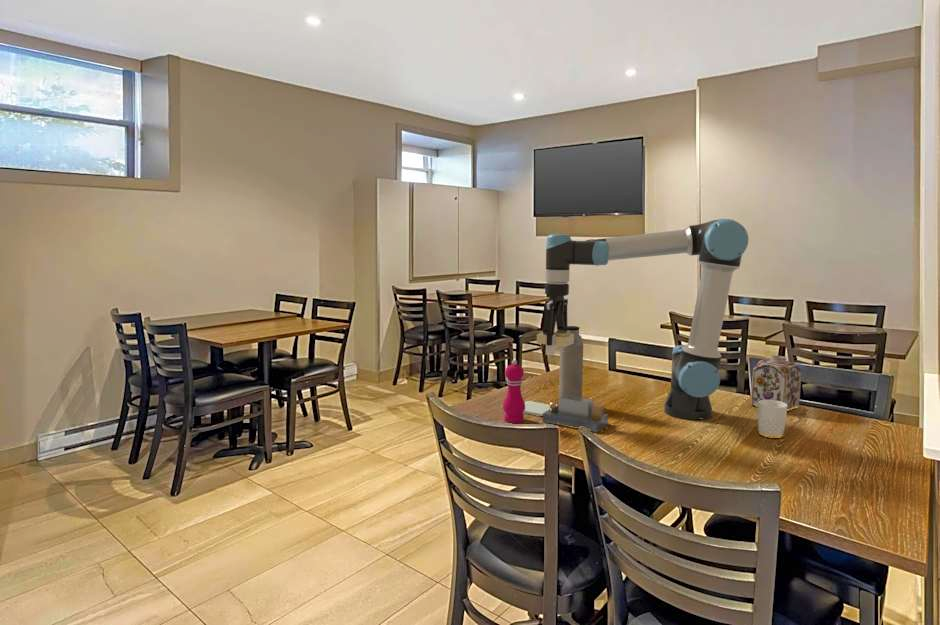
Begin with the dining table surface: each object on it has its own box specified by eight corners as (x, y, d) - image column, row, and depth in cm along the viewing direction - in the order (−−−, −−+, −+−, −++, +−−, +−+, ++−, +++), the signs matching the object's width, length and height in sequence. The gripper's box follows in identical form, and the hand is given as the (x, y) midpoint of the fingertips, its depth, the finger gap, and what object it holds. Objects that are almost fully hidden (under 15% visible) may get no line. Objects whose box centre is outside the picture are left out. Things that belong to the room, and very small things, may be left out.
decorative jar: (782, 414, 198) (787, 362, 195) (749, 406, 207) (752, 355, 204) (799, 408, 205) (804, 357, 202) (766, 400, 214) (770, 351, 211)
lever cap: (573, 343, 192) (574, 331, 192) (565, 346, 187) (565, 334, 186) (545, 339, 198) (545, 328, 197) (536, 343, 192) (536, 331, 191)
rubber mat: (555, 408, 204) (556, 405, 204) (542, 417, 195) (542, 414, 195) (527, 403, 210) (527, 400, 210) (512, 411, 201) (512, 408, 201)
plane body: (607, 423, 189) (608, 399, 188) (596, 432, 180) (597, 407, 179) (555, 413, 198) (556, 390, 197) (543, 422, 190) (543, 398, 189)
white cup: (751, 435, 178) (754, 403, 177) (761, 429, 184) (763, 398, 182) (779, 442, 173) (782, 409, 171) (788, 435, 178) (791, 403, 177)
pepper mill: (499, 417, 194) (499, 358, 191) (519, 415, 197) (519, 356, 194) (508, 424, 188) (508, 363, 185) (528, 422, 190) (529, 361, 187)
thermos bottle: (558, 401, 213) (559, 324, 208) (580, 401, 212) (582, 324, 208) (559, 407, 205) (561, 328, 201) (582, 408, 204) (584, 328, 200)
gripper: (558, 279, 200) (556, 346, 203) (533, 284, 183) (531, 357, 186) (579, 281, 196) (576, 348, 199) (555, 286, 179) (553, 360, 182)
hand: (554, 352), depth 193 cm, fingers closed on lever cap, 7 cm apart
